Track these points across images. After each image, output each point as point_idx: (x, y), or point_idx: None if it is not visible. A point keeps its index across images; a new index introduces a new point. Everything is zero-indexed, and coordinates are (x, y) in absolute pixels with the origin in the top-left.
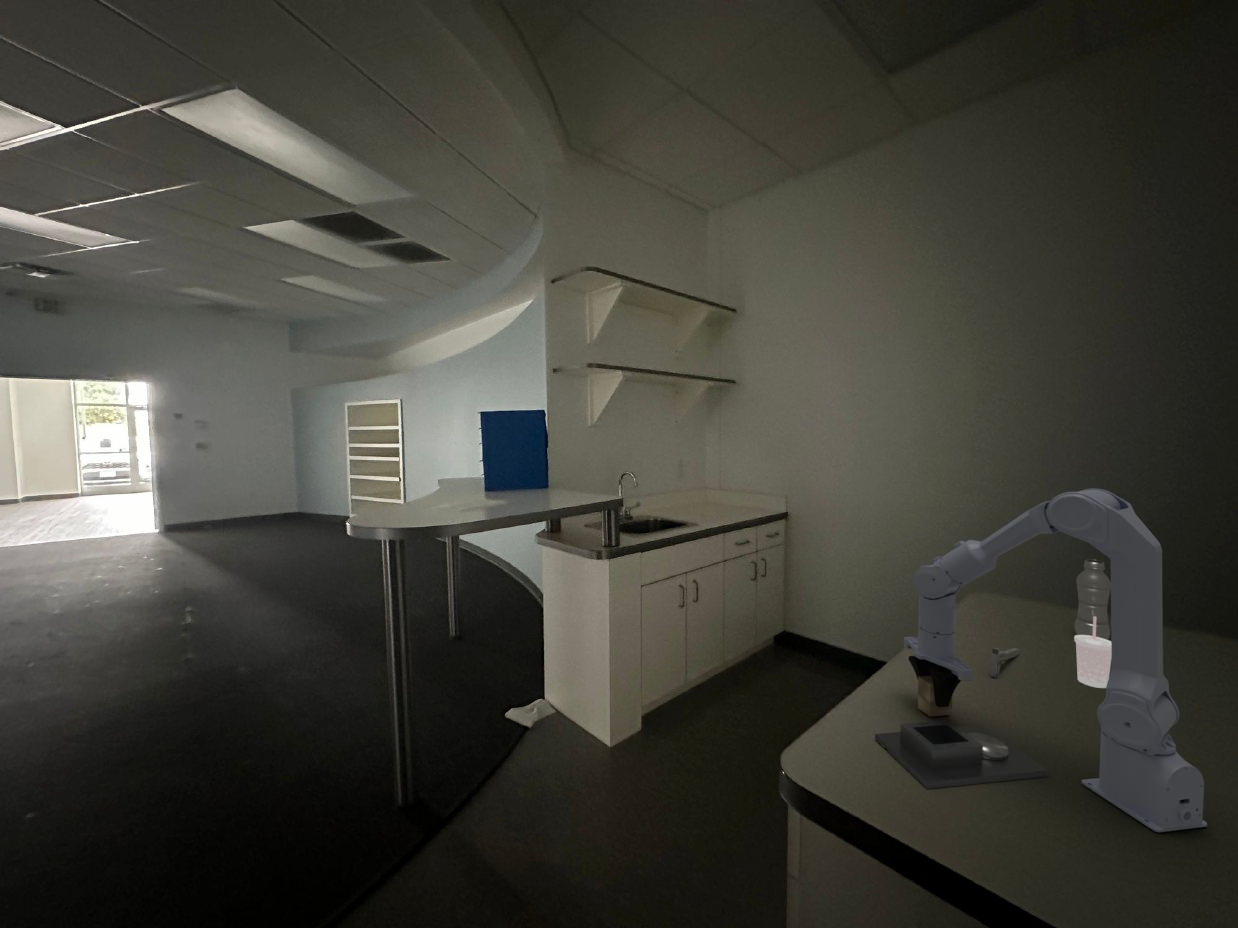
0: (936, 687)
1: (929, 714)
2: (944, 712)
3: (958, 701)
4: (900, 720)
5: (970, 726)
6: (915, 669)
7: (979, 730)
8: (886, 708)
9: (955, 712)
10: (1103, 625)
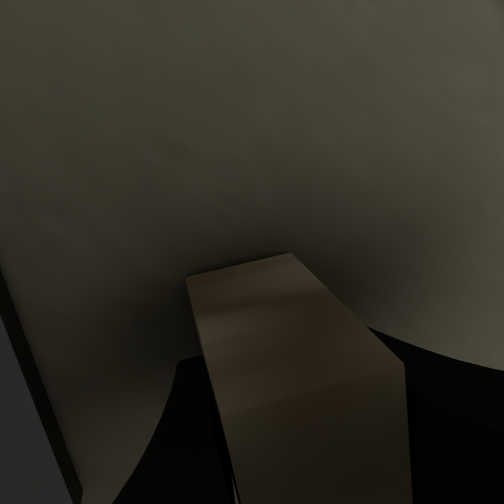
0: (168, 452)
1: (186, 281)
2: None
3: None
4: (144, 55)
5: (45, 458)
6: (501, 386)
7: (2, 488)
8: (304, 35)
9: None
10: None
